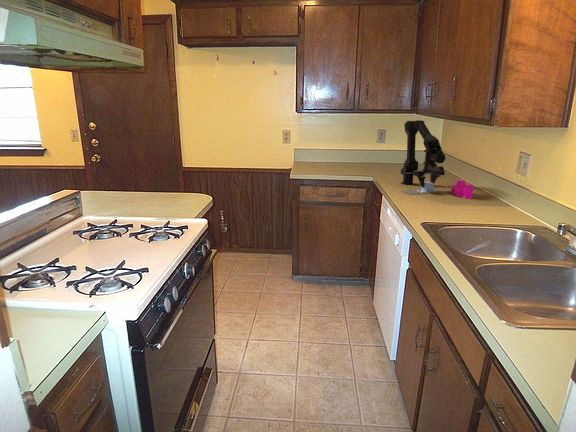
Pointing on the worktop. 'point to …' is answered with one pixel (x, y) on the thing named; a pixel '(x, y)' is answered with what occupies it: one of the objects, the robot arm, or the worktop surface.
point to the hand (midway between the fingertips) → (427, 187)
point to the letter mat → (419, 191)
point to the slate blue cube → (427, 187)
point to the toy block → (462, 189)
